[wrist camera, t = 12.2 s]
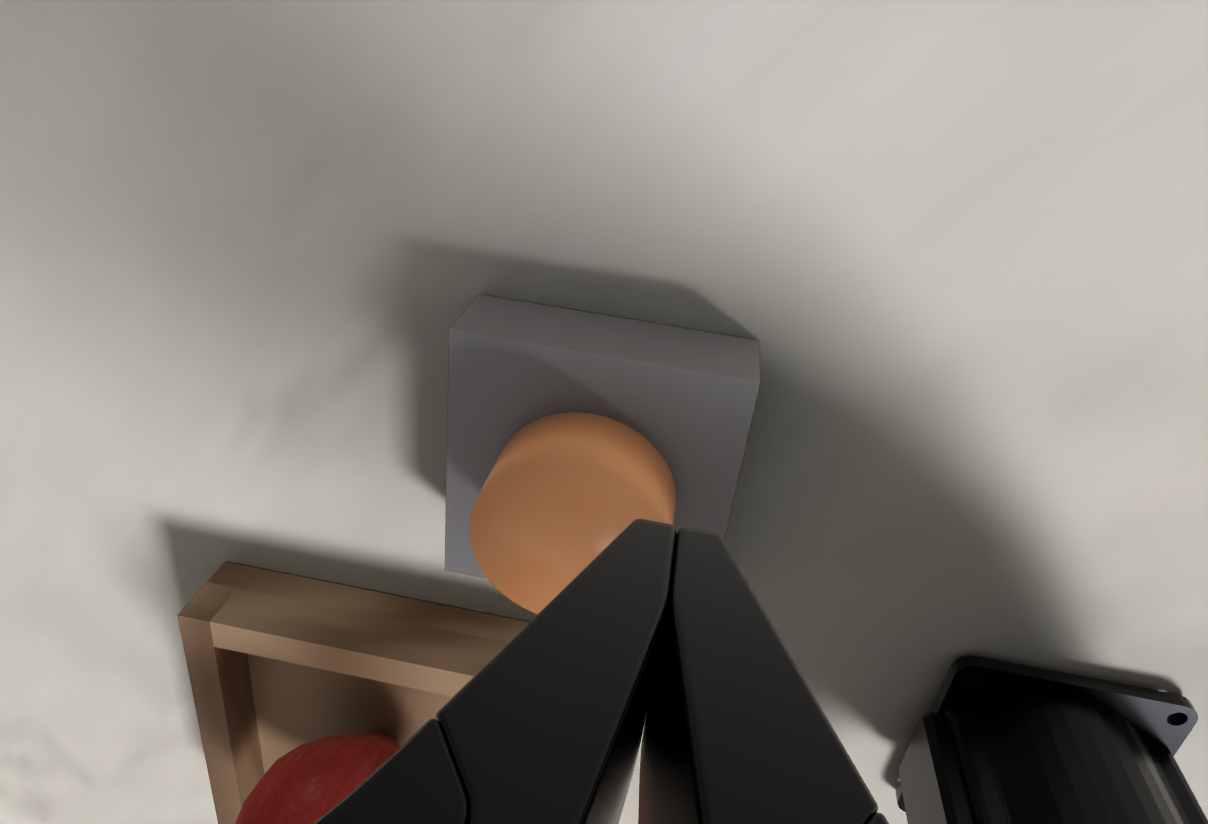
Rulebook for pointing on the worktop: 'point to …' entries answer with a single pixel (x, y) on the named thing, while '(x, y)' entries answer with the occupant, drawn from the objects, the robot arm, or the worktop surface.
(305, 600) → the tray
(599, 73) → the worktop surface
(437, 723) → the robot arm
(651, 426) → the button housing
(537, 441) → the button
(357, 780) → the onion
